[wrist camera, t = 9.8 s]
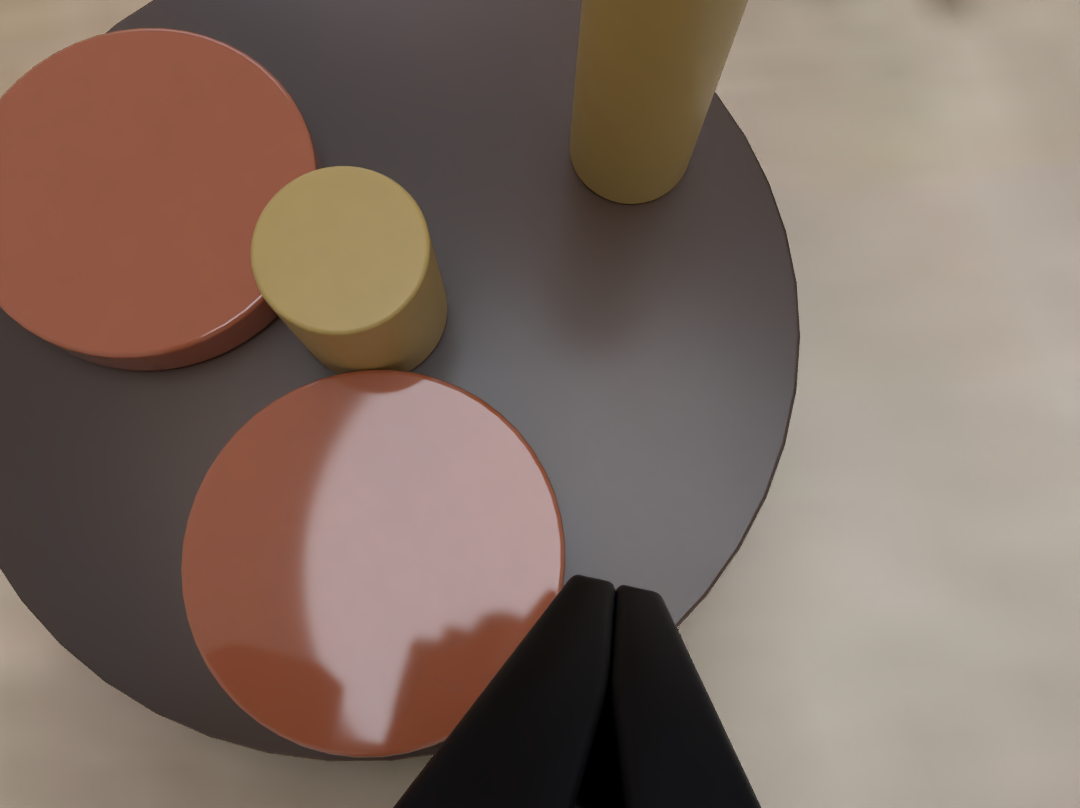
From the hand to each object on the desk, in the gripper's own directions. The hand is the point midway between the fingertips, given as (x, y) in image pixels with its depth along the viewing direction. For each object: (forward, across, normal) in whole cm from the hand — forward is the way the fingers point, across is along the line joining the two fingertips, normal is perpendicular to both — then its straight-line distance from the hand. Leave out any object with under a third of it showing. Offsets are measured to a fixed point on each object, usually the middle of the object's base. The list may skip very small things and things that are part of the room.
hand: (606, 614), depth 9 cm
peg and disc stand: (+8, +5, +2) cm, 10 cm away
